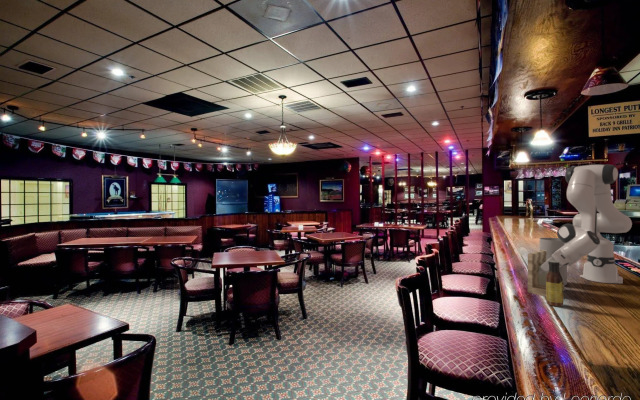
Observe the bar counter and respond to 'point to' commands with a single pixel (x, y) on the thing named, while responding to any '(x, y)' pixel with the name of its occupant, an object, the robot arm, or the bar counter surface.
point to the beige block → (542, 277)
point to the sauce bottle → (554, 285)
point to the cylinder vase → (551, 247)
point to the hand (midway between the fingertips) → (542, 272)
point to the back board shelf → (536, 272)
